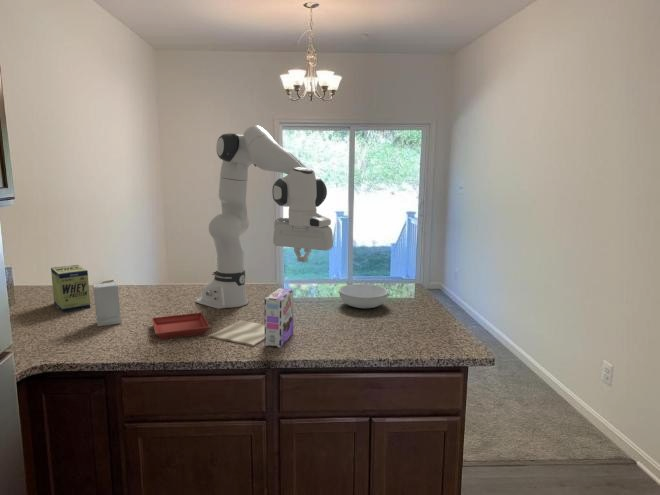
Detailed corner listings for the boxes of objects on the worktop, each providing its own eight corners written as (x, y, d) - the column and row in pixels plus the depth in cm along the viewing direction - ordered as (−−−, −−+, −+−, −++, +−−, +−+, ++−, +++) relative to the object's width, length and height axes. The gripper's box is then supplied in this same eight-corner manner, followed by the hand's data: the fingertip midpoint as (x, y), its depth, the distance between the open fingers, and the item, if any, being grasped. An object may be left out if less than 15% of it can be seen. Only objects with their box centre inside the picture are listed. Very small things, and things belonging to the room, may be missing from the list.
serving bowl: (331, 309, 195) (331, 293, 194) (348, 296, 214) (348, 282, 213) (379, 315, 188) (380, 299, 186) (392, 302, 207) (393, 287, 205)
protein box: (62, 312, 184) (59, 274, 182) (53, 303, 196) (50, 267, 193) (91, 307, 191) (88, 270, 188) (80, 299, 203) (78, 264, 200)
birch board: (209, 337, 161) (209, 335, 161) (241, 321, 177) (241, 320, 177) (253, 346, 154) (253, 344, 154) (282, 329, 170) (282, 327, 170)
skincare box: (120, 319, 178) (118, 281, 175) (121, 324, 172) (119, 284, 170) (96, 322, 174) (93, 283, 172) (96, 327, 169) (93, 287, 166)
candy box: (281, 348, 152) (280, 299, 150) (263, 346, 154) (263, 297, 151) (294, 333, 166) (294, 288, 163) (278, 332, 167) (278, 287, 164)
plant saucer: (152, 325, 172) (151, 317, 172) (202, 320, 180) (201, 311, 179) (155, 342, 156) (155, 333, 156) (210, 335, 164) (210, 326, 163)
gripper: (269, 218, 151) (269, 260, 153) (326, 222, 142) (326, 266, 144) (279, 216, 156) (279, 257, 159) (335, 220, 148) (334, 263, 150)
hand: (302, 261), depth 151 cm, fingers closed
